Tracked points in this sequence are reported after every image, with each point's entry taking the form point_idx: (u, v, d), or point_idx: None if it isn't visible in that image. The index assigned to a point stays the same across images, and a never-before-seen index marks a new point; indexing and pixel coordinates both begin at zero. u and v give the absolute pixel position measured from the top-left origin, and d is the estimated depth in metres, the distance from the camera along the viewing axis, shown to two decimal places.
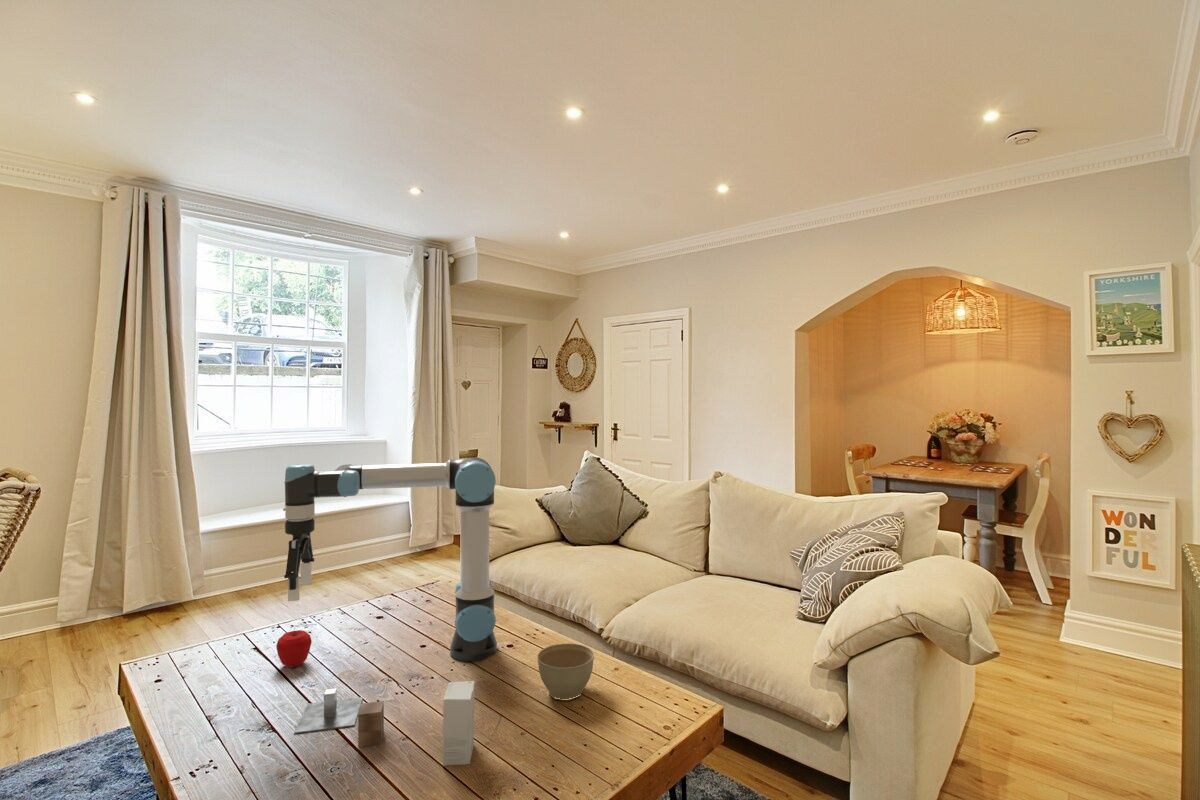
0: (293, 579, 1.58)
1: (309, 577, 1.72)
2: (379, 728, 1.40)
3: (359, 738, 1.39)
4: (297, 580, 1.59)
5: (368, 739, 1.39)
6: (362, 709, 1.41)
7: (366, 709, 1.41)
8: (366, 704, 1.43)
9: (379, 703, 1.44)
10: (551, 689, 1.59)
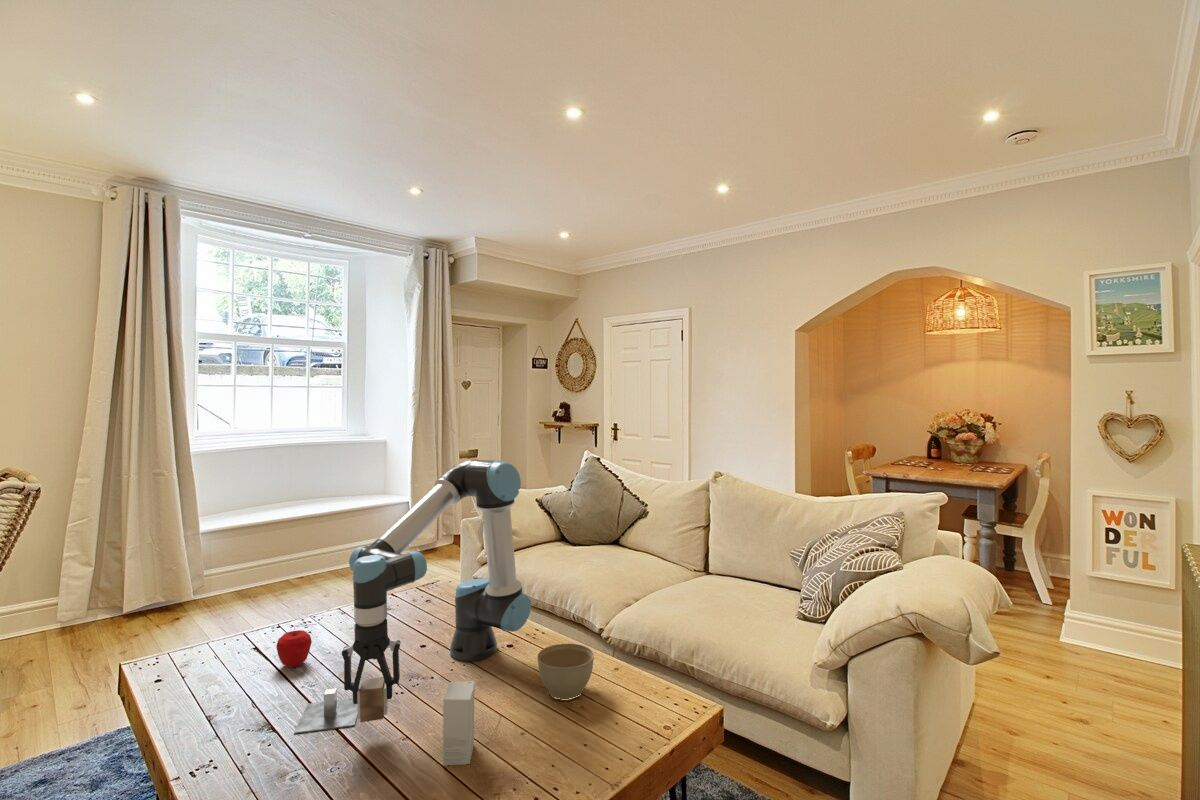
0: None
1: None
2: (381, 703, 1.40)
3: (361, 714, 1.39)
4: None
5: (370, 714, 1.40)
6: (363, 685, 1.41)
7: (367, 685, 1.41)
8: (367, 680, 1.43)
9: (380, 679, 1.44)
10: (551, 689, 1.59)
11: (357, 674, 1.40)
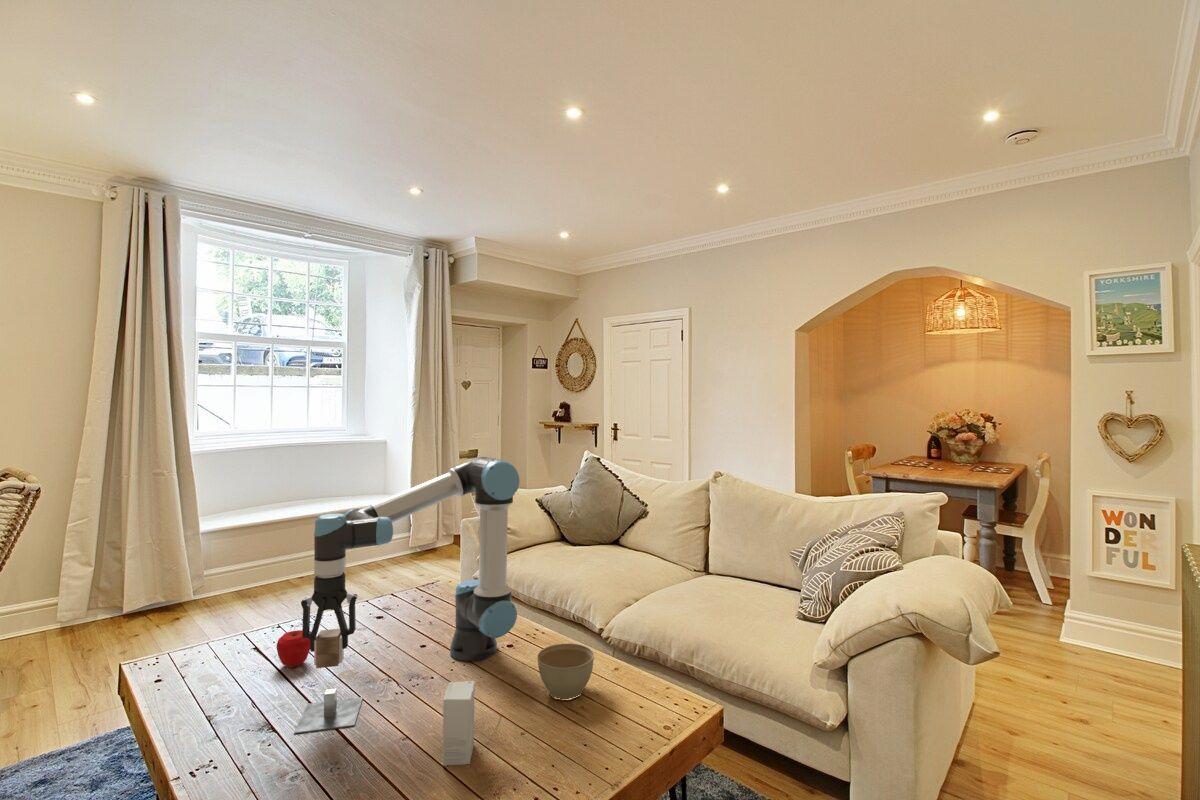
0: None
1: (339, 654, 1.52)
2: (336, 651, 1.50)
3: (317, 660, 1.49)
4: None
5: (325, 661, 1.49)
6: (320, 634, 1.51)
7: (324, 634, 1.51)
8: (325, 630, 1.54)
9: (337, 630, 1.54)
10: (551, 689, 1.59)
11: (315, 623, 1.50)
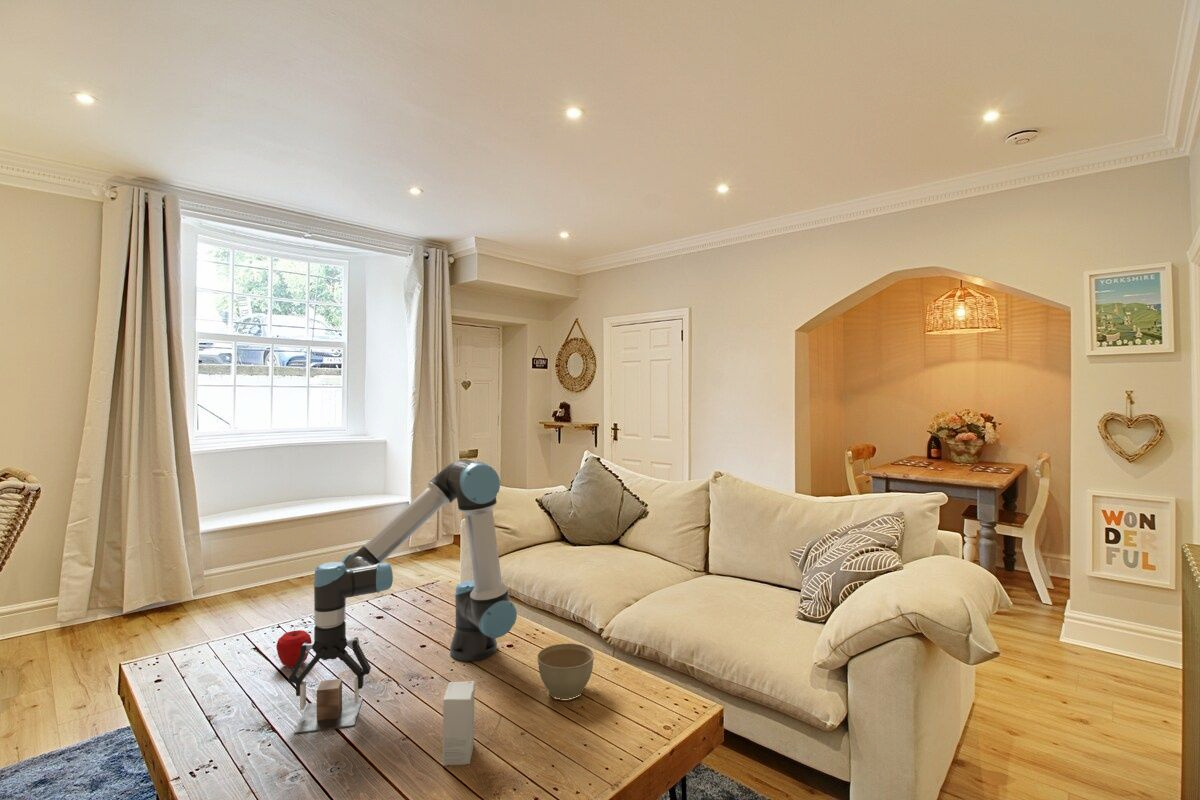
0: None
1: None
2: (336, 703, 1.50)
3: (317, 712, 1.49)
4: None
5: (326, 713, 1.50)
6: (321, 686, 1.51)
7: (325, 686, 1.51)
8: (325, 681, 1.54)
9: (337, 680, 1.54)
10: (551, 689, 1.59)
11: (306, 669, 1.50)
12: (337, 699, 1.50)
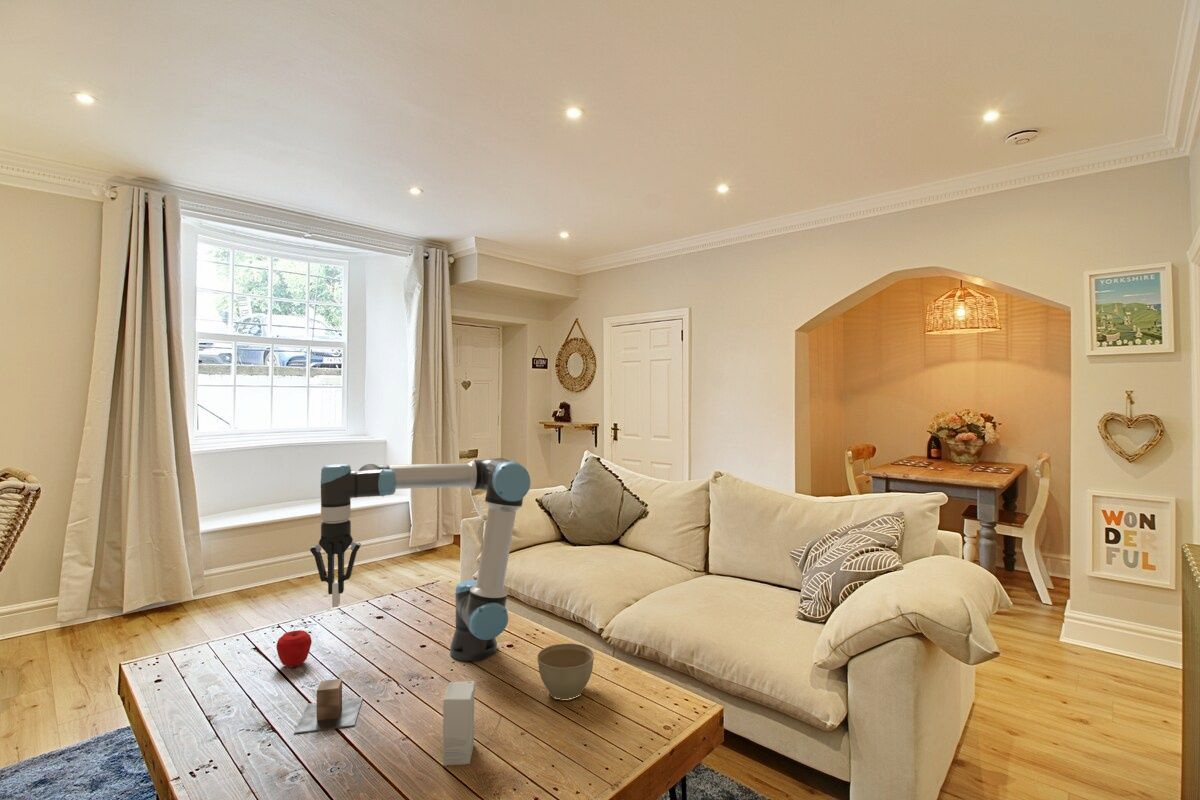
0: None
1: None
2: (336, 703, 1.50)
3: (317, 712, 1.49)
4: None
5: (326, 713, 1.50)
6: (321, 686, 1.51)
7: (325, 686, 1.51)
8: (325, 681, 1.54)
9: (337, 680, 1.54)
10: (551, 689, 1.59)
11: (328, 567, 1.58)
12: (337, 699, 1.50)
